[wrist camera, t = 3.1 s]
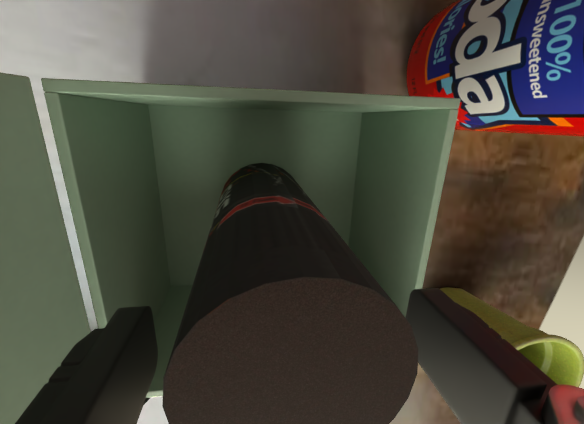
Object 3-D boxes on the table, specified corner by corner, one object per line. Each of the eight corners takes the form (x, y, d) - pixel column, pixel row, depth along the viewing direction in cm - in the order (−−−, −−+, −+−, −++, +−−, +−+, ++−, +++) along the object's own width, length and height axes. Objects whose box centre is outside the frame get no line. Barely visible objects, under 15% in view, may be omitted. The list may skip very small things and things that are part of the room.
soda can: (479, 134, 22) (899, 162, 8) (388, 122, 20) (701, 130, 6) (515, 18, 20) (1202, -234, 6) (414, -5, 18) (999, -427, 4)
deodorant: (230, 153, 19) (190, 250, 5) (311, 174, 20) (459, 300, 6) (212, 231, 21) (143, 475, 7) (289, 247, 22) (367, 475, 8)
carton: (167, 287, 22) (114, 402, 13) (142, 98, 18) (39, 77, 9) (347, 276, 24) (406, 367, 15) (365, 107, 20) (461, 98, 11)
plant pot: (464, 250, 25) (567, 313, 17) (498, 313, 29) (599, 391, 20) (380, 310, 26) (441, 397, 18) (422, 365, 29) (490, 460, 21)
